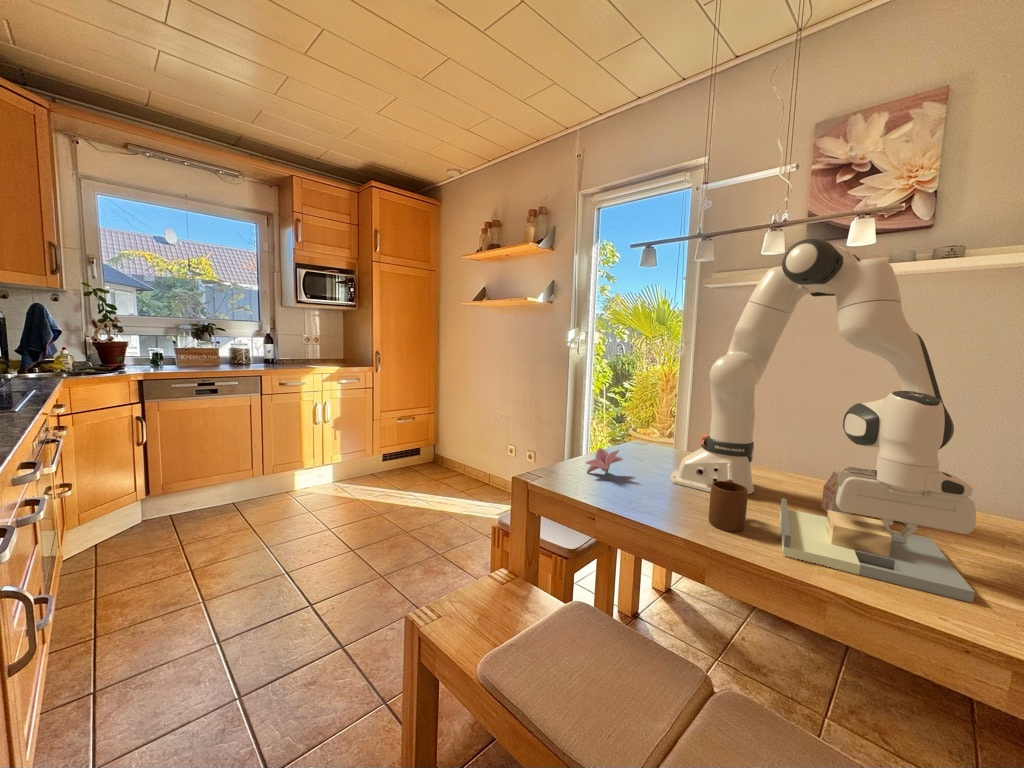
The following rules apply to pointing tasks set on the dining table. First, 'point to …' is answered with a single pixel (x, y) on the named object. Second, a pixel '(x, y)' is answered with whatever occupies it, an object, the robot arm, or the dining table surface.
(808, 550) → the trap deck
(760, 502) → the dining table surface
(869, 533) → the maple block
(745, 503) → the mug
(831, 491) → the milk carton
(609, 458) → the lily
